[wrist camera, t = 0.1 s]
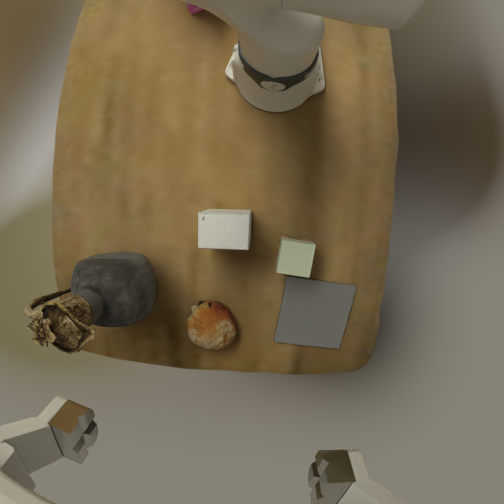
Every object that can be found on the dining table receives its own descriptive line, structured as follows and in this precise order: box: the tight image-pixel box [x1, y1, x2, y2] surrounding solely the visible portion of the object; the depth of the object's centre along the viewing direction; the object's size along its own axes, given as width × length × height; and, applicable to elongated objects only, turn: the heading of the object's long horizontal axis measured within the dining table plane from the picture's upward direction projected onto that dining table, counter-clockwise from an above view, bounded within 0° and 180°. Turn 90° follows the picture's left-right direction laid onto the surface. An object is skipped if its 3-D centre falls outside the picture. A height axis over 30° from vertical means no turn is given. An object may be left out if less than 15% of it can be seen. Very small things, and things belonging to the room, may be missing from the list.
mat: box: [274, 276, 356, 349], centre depth 58 cm, size 14×14×1 cm
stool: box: [276, 234, 316, 278], centre depth 52 cm, size 6×6×8 cm
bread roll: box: [186, 301, 237, 349], centre depth 57 cm, size 10×10×8 cm
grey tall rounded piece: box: [24, 252, 157, 354], centre depth 43 cm, size 11×19×30 cm, turn 91°
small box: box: [198, 209, 252, 250], centre depth 50 cm, size 8×6×10 cm
